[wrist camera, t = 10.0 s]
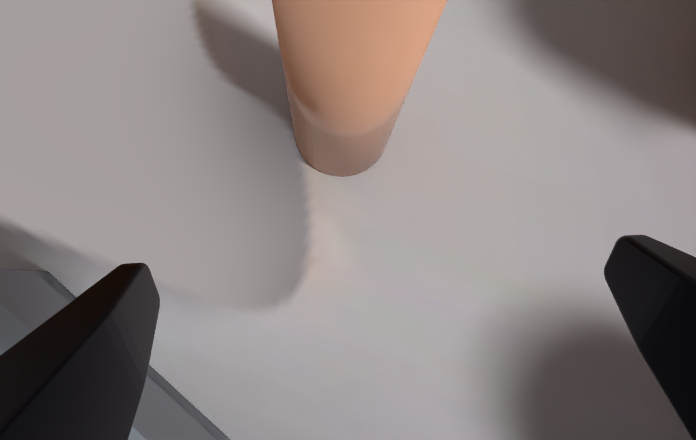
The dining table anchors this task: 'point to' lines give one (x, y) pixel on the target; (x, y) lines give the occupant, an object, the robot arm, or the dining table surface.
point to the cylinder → (350, 73)
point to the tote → (158, 395)
